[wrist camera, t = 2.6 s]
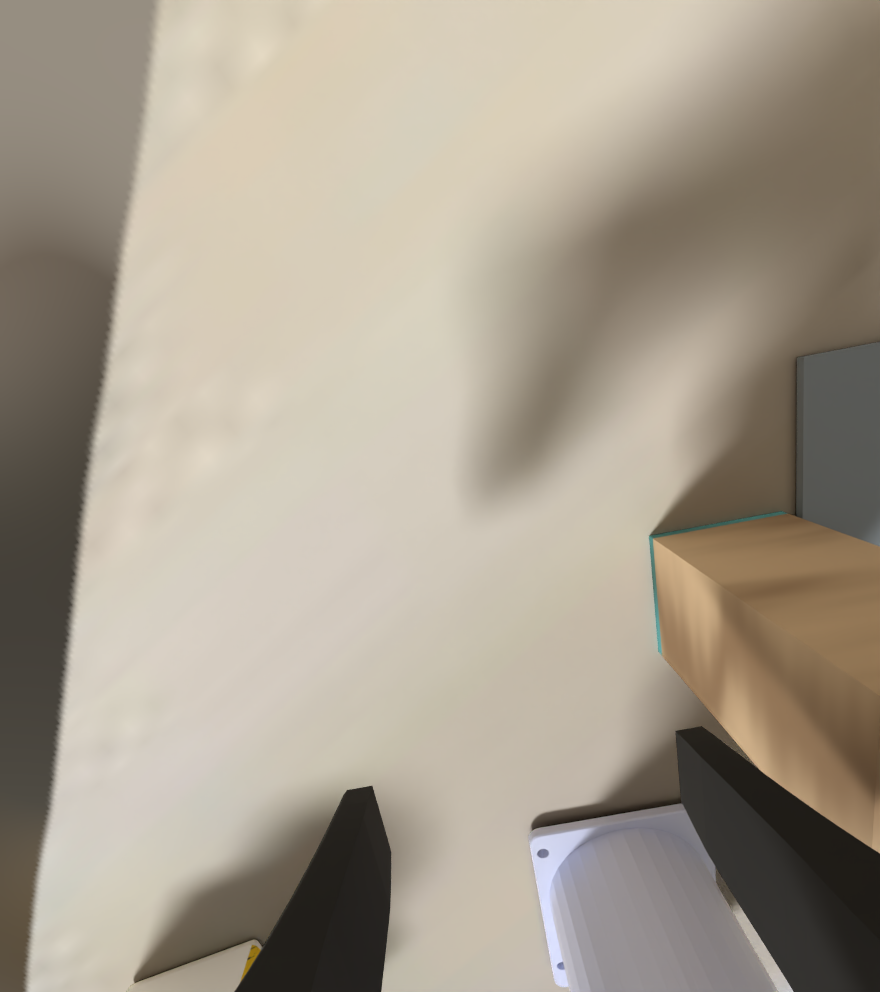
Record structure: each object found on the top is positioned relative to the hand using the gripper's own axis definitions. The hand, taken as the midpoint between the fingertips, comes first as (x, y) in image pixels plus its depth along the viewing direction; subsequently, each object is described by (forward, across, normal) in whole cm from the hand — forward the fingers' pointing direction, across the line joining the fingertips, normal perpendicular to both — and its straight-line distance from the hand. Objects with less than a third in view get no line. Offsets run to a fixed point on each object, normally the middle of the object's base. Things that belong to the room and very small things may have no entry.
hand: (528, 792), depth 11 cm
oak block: (+7, -9, 0) cm, 12 cm away
